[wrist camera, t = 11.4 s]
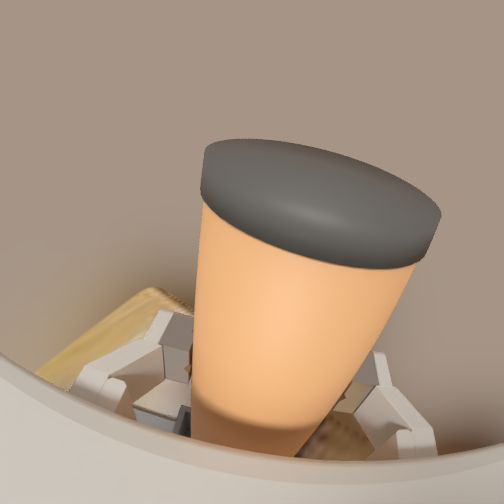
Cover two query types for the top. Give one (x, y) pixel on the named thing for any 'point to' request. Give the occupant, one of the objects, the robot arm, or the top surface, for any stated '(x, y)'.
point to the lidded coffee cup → (293, 285)
